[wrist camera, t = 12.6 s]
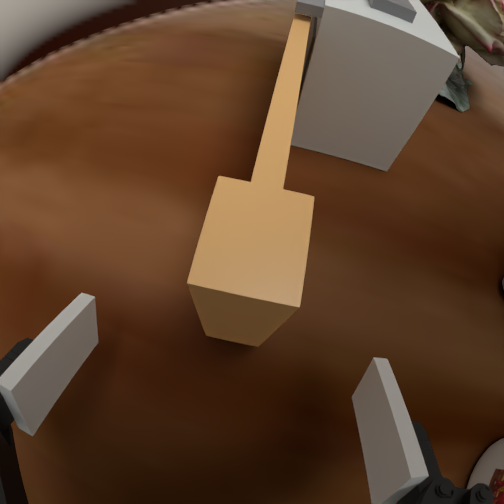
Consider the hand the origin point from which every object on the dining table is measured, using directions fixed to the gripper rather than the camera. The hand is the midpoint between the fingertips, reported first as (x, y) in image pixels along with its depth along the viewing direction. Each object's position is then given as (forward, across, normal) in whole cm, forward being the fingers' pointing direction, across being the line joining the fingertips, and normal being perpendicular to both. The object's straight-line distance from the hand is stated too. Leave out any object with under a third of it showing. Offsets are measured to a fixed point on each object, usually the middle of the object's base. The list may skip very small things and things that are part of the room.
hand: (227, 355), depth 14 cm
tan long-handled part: (+10, 0, +4) cm, 11 cm away
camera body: (+21, +6, +14) cm, 26 cm away
